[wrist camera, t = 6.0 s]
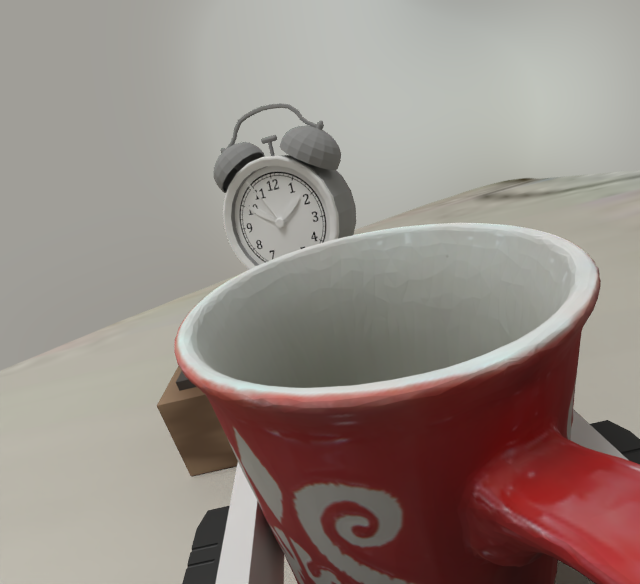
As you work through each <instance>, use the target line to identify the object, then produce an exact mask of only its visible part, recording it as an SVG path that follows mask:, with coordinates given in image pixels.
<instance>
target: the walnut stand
mask: <svg viewBox="0 0 640 584" xmlns="http://www.w3.org/2000/svg"><path fill="white" fill-rule="evenodd" d="M157 407H158V409H159V411H160V413H161V416H162V418H163V420H164V422H165V424H166V426H167V428H168V430H169V432H170V434H171V436H172V438H173V440H174V442H175V444H176V446H177V448H178V451H179V453H180V455H181V457H182V459H183V461H184V463H185V465H186V467H187V469H188V471H189V473H190V475H191V476H194V475H198V474H203V473H207V472H212V471H216V470H221V469H225V468H229V467H234V466H237V464H238V460H237V458H236V456H235V454H234V452H233V449H232V447H231V445H230V443H229V441H228V439H227V436H226V434H225V432H224V430H223V428H222V426H221V424H220V422H219V420H218V418H217V416H216V414H215V411H214V409H213V407H212V405H211V403H210V401H209V399H208V398H207V396H206V395H205V393H203V392H202V391H201V390H200V389H199V388H198V387H196V386H195V385H194V384H193V383H192V382H191V381H190V380H189V379H188V378H187V377H186V376H185V375H184V373H183V371H182V370H181V368H180V367H179V366H178V368H177V370H176V372H175V373H174V375H173V377H172V379H171V381H170V383H169V384H168V386H167V388H166V390H165V392H164V394H163V395H162V397H161V399H160V401H159V403H158V404H157Z"/></svg>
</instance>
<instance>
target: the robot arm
mask: <svg viewBox="0 0 640 584" xmlns="http://www.w3.org/2000/svg"><path fill="white" fill-rule="evenodd" d="M570 440H571V441H573V442H575V443H577V444H579V445H581V446H583V447H586V448H589V449H592V450H595V451H598V452H602V453H605V454H609V455H612V456H616V457H620V458H623V459H626V460H628V461H631V462H634V463H637V464H640V439H639V438H637V437H636V436H635V435H634V434H633V433H631V432H630V431H628V430H626V429H624V428H622V427H620V426H618V425H616V424H614V423H612V422H610V421H608V420H606V421H602V422H597V423H593V424H589V423H588V422H587V421H586V420H585V419H583V418H582V417H581V416H580V415H579V414H578V413H577V412H576V411H575V410H574V409H573V423H572V427H571V438H570ZM283 583H284V552H283V551H282V549H281V547H280V545H279V543H278V542H277V540H276V538H275V536H274V534H273V532H272V529H271V527H270V526H269V524H268V522H267V520H266V518H265V516H264V514H263V511H262V509H261V507H260V505H259V503H258V501H257V499H256V497H255V495H254V493H253V491H252V489H251V487H250V485H249V483H248V481H247V479H246V477H245V475H244V473H243V471H242V469H241V467H240V465H239V463H238V464H237V469H236V474H235V480H234V485H233V491H232V496H231V502H230V506H226V507H222V508H217V509H213V510H209V511H207V513H206V515H205V516H204V518H203V520H202V521H201V523H200V524H199V526H198V528H197V530H196V534H195V538H194V541H193V545H192V552H191V553H190V557H189V561H188V568H187V569H186V572H185V576H184V580H183V584H283Z"/></svg>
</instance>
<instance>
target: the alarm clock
mask: <svg viewBox="0 0 640 584" xmlns="http://www.w3.org/2000/svg"><path fill="white" fill-rule="evenodd" d="M273 108H288V109H290V110H291V111H293V112H294V113H295V114H296V115H297V116H298V117H299V118H300V120H302V121H303V122H304V123H305V124H307V125H310V126H299V127H295V128H292V129H290V130H289V131H288V132H286V134H285V135H284V137H283V138H282V141H281V144H280V148H281V149H282V150H283V151H284V152H286V153H287V154H289V155H287V156H286V155H285V156H274V151H273V147H272V141H275V140H277V137H276V135H273V136H269V137H265V138H262V139H261V141H262V143H263V144H264V143H268V144H269V149H270V153H271V156H270V157H264V153H263V152H262V151H261V150H260V149H259V148H258V147H257V146H255V145H253V144H251V143H246V142H243V143H238V144H234V143H235V140H236V137H237V132H238V130H239V127H240V125H241V123H242V122H243V121H244V120H246V119H247V118H248V117H250V116H252V115H254V114H256V113H258V112H261V111H263V110H267V109H273ZM323 126H324V125H323V121H319V122H318V123H317V124H314V123H312V122H309V121H307V120H306V119H305V118H304V117H302V115H301V114H300V112H299V111H298V110H297V109H295V108H294V107H292V106H291V105H288V104H272V105H266V106H261V107H259V108H257V109H254V110H252V111H250V112H249V113H247V114H245V115H244V116H243V117H242V118H241V119H239V120H238V122H237V124H236V126H235V128H234V134H233V138H232V141H231V143H230V144H229V146H228V147H227V148H226V149H225V148H221V153H222V154H221V155H220V156H219V158H218V159H217V161H216V164H215V167H214V179H215V181H216V183H217V185H218V186H219V188H220V189H221V190H222V191H223V192H224V193H226V196H225V199H224V207H223V221H224V227H225V233H226V236H227V238H228V241H229V243H230V246H231V248H232V250H233V251H234V253H235V254H236V256H237V257H238V259H239V261H240V262H241V263H242V264H243V265H244V266H245V267H246V268H247V269H248V270H250V269H252V268H254V267H256V266H258V265H260V264H263V263H265V262H268V261H270V260H273V259H275V258H278V257H280V256H283V255H285V254H288V253H291V252H294V251H297V250H300V249H303V248H306V247H310V246H313V245H316V244H320V243H323V242H327V241H331V240H335V239H339V238H343V237H347V236H352V235H353V234H354V229H355V224H356V208H355V203H354V200H353V196H352V193H351V190H350V188H349V187H348V185H347V183H346V182H345V180H344V178H343V177H342V176H341V175H340V174H339V173H338V172H337V171H336V169H338V166H339V163H340V158H341V152H340V149H339V146H338V145H337V143H336V141H335V140H334V139H333V138H332V137H331V136H330V135H329V134H328V133H326V132H325V131H323V130H322V128H323Z"/></svg>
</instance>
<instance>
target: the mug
mask: <svg viewBox="0 0 640 584" xmlns="http://www.w3.org/2000/svg"><path fill="white" fill-rule="evenodd" d="M599 290H600V278H599V269H598V267H597V266H596V264H595V262H594V261H593V259H592V258H591V257H590V256H589V255H588V254H587V253H586V252H585V251H584V250H583V249H581V248H580V247H579V246H577V245H576V244H574V243H572V242H570V241H569V240H566V239H564V238H561V237H559V236H556V235H553V234H550V233H547V232H543V231H539V230H535V229H530V228H524V227H518V226H510V225H499V224H482V223H445V224H429V225H418V226H408V227H399V228H392V229H385V230H379V231H373V232H367V233H362V234H357V235H352V236H347V237H343V238H339V239H335V240H331V241H327V242H323V243H320V244H316V245H313V246H310V247H306V248H303V249H300V250H297V251H294V252H291V253H288V254H285V255H283V256H280V257H278V258H275V259H273V260H270V261H268V262H265V263H263V264H260V265H258V266H256V267H254V268H252V269H250V270H248V271H246V272H244V273H242V274H240V275H238V276H236V277H234V278H232V279H231V280H229V281H227V282H225V283H224V284H222V285H221V286H219V287H218V288H216V289H215V290H214V291H212V292H211V293H210V294H208V295H207V296H206V297H205V298H204V299H202V300H201V301H200V302H199V303H198V304H197V305H196V306H195V307H194V308H193V309H192V310H191V311H190V312H189V313H188V315H187V316H186V318H185V319H184V320H183V322H182V323H181V325H180V327H179V329H178V332H177V336H176V338H175V355H176V359H177V363H178V365H179V367H180V368H181V370H182V371H183V373H184V375H185V376H186V377H187V378H188V379H189V380H190V381H191V382H192V383H193V384H194V385H195V386H196V387H198V388H199V389H200V390H201V391H202V392H203V393H205V395H206V396H207V398H208V399H209V401H210V403H211V405H212V407H213V409H214V411H215V414H216V416H217V418H218V420H219V422H220V424H221V426H222V428H223V430H224V432H225V434H226V436H227V439H228V441H229V443H230V445H231V447H232V449H233V452H234V454H235V456H236V458H237V460H238V463H239V465H240V467H241V469H242V471H243V473H244V475H245V477H246V479H247V481H248V483H249V485H250V487H251V489H252V491H253V493H254V495H255V497H256V499H257V501H258V503H259V505H260V507H261V509H262V511H263V514H264V516H265V518H266V520H267V522H268V524H269V526H270V527H271V529H272V532H273V534H274V536H275V538H276V540H277V542H278V543H279V545H280V547H281V549H282V551H283V552H284V554H285V556H286V559H287V561H288V563H289V565H290V567H291V569H292V572H293V574H294V576H295V578H296V581H297V583H298V584H555V577H556V573H557V560H559V561H561V562H563V563H565V564H566V565H568V566H570V567H572V568H573V569H575V570H577V571H578V572H580V573H581V574H583V575H584V576H586V577H587V578H588V579H590V580H591V581H593V582H594V583H595V584H640V464H637V463H634V462H631V461H628V460H626V459H623V458H620V457H616V456H612V455H609V454H605V453H602V452H598V451H595V450H592V449H589V448H586V447H583V446H581V445H579V444H577V443H575V442H573V441H571V440H570V438H571V427H572V423H573V404H574V393H575V383H576V375H577V366H578V357H579V348H580V339H581V331H582V328H583V326H584V324H585V323H586V321H587V319H588V318H589V316H590V314H591V313H592V311H593V309H594V307H595V304H596V301H597V299H598V295H599Z"/></svg>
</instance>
